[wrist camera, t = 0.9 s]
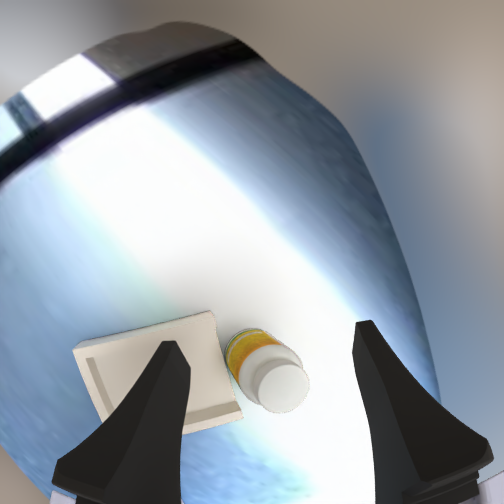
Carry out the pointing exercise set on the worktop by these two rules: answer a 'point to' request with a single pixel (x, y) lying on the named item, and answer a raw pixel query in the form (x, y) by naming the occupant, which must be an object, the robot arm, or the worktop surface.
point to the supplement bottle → (267, 370)
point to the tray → (139, 354)
